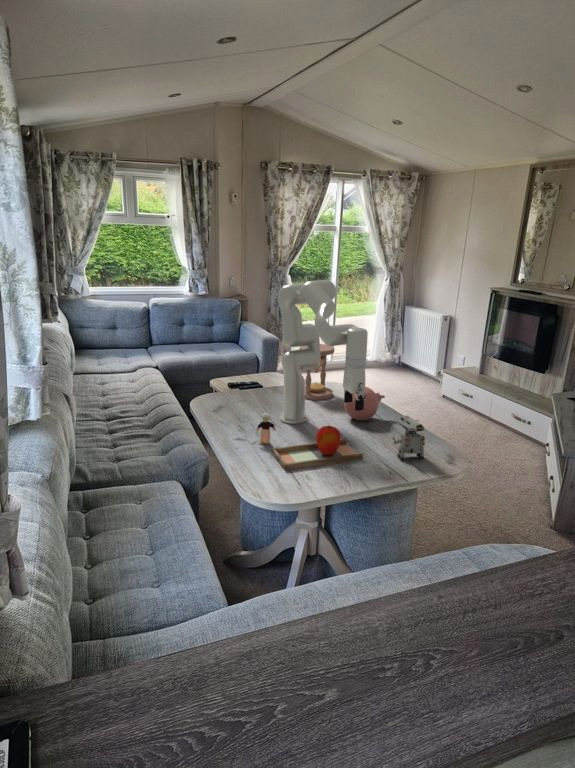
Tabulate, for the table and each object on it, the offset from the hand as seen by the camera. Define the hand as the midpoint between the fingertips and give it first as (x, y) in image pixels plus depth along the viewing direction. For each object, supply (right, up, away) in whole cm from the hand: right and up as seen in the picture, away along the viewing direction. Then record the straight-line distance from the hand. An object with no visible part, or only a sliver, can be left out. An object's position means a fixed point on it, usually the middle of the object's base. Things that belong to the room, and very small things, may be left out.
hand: (353, 406), depth 199 cm
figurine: (+21, -19, +4) cm, 29 cm away
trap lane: (-13, -19, +2) cm, 23 cm away
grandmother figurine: (-33, -16, +13) cm, 39 cm away
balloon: (+10, -8, +41) cm, 43 cm away
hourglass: (-10, +3, +74) cm, 75 cm away
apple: (-9, -19, +3) cm, 21 cm away
